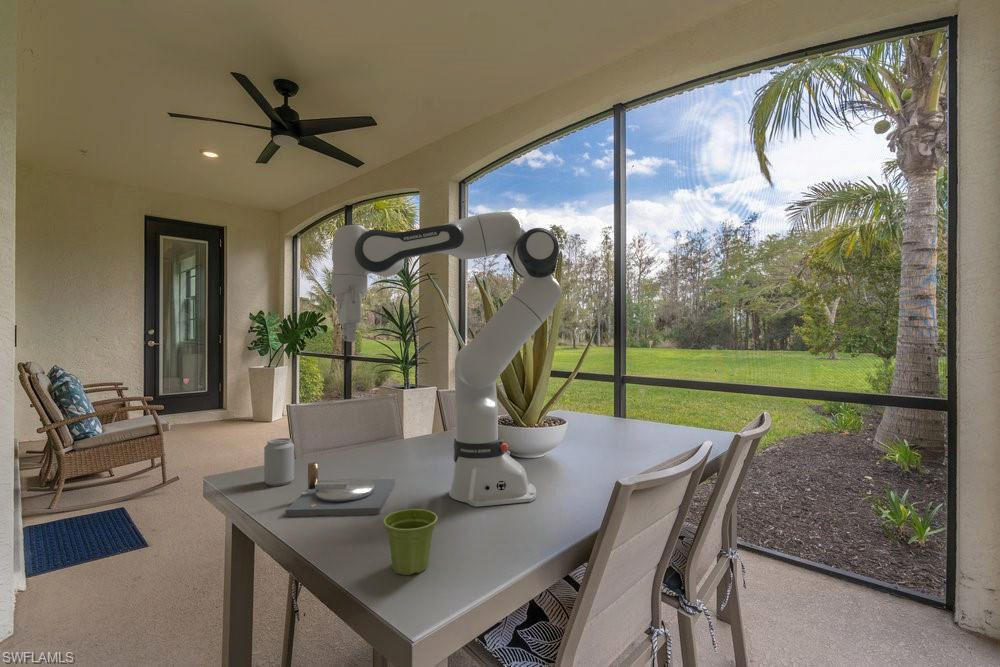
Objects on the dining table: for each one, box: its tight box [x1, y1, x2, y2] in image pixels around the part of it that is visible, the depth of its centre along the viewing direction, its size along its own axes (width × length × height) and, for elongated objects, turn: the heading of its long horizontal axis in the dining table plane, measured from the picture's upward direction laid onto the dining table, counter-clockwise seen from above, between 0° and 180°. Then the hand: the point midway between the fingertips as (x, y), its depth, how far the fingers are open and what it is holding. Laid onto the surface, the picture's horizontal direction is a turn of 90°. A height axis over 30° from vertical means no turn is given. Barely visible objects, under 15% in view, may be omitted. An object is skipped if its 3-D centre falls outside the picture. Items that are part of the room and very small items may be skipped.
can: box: [263, 437, 295, 487], centre depth 128 cm, size 8×8×12 cm
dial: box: [307, 461, 374, 502], centre depth 116 cm, size 16×14×7 cm
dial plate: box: [285, 478, 396, 517], centre depth 116 cm, size 21×21×2 cm
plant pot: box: [383, 508, 438, 576], centre depth 82 cm, size 9×9×9 cm
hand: (349, 341), depth 119 cm, fingers open, 8 cm apart
